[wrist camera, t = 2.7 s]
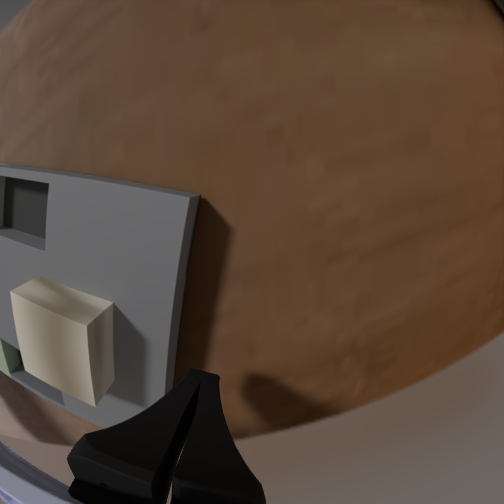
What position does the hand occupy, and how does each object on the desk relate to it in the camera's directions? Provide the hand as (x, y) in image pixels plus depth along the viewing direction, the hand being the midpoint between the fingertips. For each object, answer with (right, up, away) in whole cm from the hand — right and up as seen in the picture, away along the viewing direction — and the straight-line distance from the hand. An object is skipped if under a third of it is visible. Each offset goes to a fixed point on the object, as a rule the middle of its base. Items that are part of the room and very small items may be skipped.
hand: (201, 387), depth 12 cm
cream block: (-7, +2, +1) cm, 8 cm away
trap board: (-12, +3, +3) cm, 12 cm away
